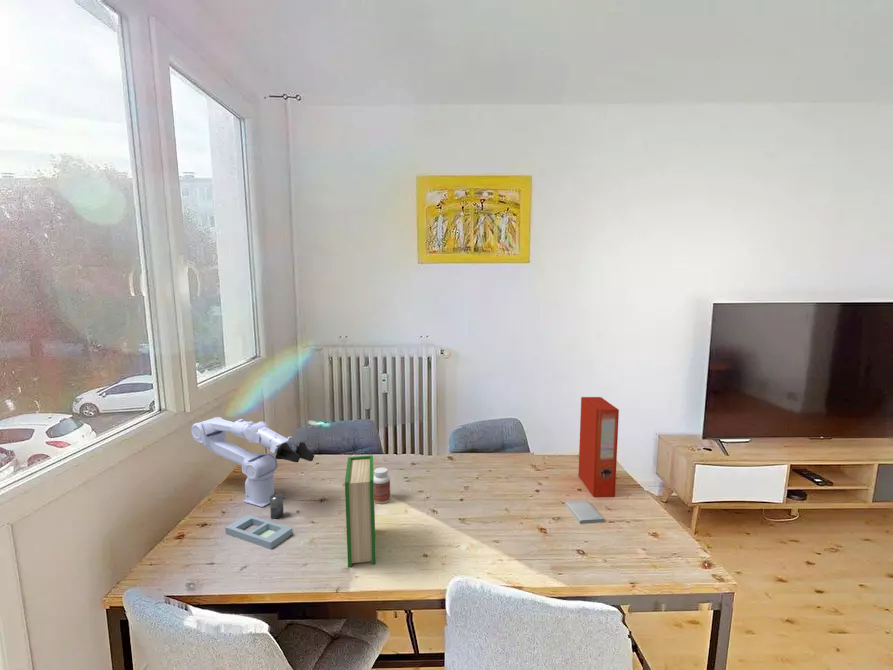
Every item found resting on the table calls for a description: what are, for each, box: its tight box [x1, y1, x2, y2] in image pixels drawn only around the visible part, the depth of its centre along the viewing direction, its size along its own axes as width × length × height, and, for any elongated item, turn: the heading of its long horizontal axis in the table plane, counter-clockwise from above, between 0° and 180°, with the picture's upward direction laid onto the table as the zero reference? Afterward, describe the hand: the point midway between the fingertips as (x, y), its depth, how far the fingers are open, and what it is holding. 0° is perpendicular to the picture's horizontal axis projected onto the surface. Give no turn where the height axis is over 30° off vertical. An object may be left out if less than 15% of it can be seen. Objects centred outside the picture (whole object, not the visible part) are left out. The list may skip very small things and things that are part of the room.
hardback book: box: [344, 454, 377, 568], centre depth 127 cm, size 18×7×24 cm, turn 10°
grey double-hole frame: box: [225, 514, 294, 550], centre depth 136 cm, size 19×8×2 cm, turn 64°
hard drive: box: [564, 500, 605, 525], centre depth 147 cm, size 2×8×12 cm
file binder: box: [578, 396, 620, 498], centre depth 164 cm, size 8×17×32 cm, turn 1°
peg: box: [269, 493, 285, 520], centre depth 146 cm, size 4×4×7 cm
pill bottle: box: [373, 467, 391, 505], centre depth 156 cm, size 6×6×11 cm
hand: (305, 458), depth 147 cm, fingers open, 7 cm apart
